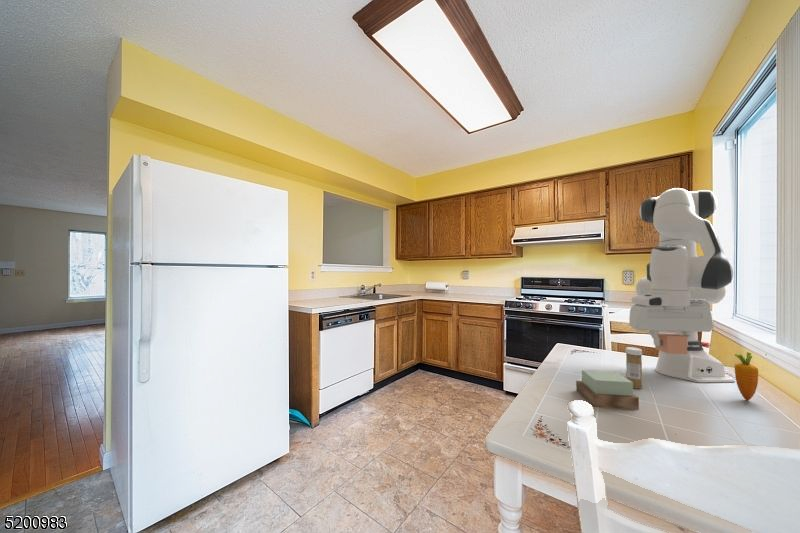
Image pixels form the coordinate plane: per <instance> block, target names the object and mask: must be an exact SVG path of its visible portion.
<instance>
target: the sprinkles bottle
mask: <svg viewBox="0 0 800 533" xmlns="http://www.w3.org/2000/svg"><path fill="white" fill-rule="evenodd" d="M625 354H626V361H625V363H626V364H625V365H626V369H625V370H626V372H625V373H626V379H628V380H630V381H631V382H633V389H638V390H639V389H643V388H644V387H643V365H642V364H643V361H642V360H643V359H642V356H643V350H642V349H641V348H638V347H634V346H633V347H632V346H631V347H630V346H627V347H625Z"/></svg>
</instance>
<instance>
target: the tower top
mask: <svg viewBox="0 0 800 533" xmlns="http://www.w3.org/2000/svg"><path fill="white" fill-rule="evenodd" d="M581 381H582V382H583V383H584V384H585V385H587V386H588V387H589V388H590V389H591V390H592V391H593V392H595V393H596V394H610V395H625V396H633V394H634V388H633V382H631V381H630V380H628V379H627V377H625V376H623V375H622V374H620V373H619V372H617V371H612V370H609V371H608V370H593V369H592V370H591V369H582V370H581Z"/></svg>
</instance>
